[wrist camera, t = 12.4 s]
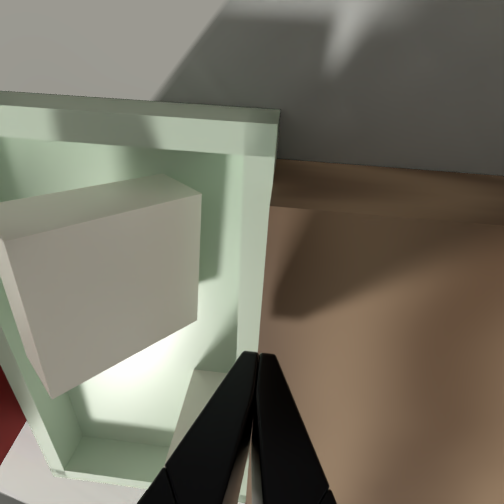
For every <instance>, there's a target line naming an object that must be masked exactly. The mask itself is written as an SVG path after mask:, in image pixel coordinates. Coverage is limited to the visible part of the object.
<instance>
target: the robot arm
mask: <svg viewBox="0 0 504 504" xmlns="http://www.w3.org/2000/svg"><path fill="white" fill-rule="evenodd" d="M252 424H253V425H252ZM251 433H252V438H251ZM250 441H251V483H252V504H337V502H336V500H335V497H334V495H333V492H332V490H330V489H329V487H330V486H329V483H328V481H327V478H326V476H325V473H324V471H323V469H322V466H321V464H320V461H319V459H318V456H317V454H316V451H315V449H314V447H313V444H312V442H311V439H310V437H309V434H308V432H307V430H306V427H305V425H304V422H303V420H302V417H301V415H300V412H299V410H298V408H297V405H296V403H295V400H294V398H293V395H292V393H291V391H290V388H289V386H288V383H287V381H286V378H285V376H284V373H283V371H282V369H281V366H280V364H279V361H278V359H277V357H276V355H275V354H271V353H260V354H258V352H253V351H243V352H242V353H241V354H240V356H239V357H238V359H237V360H236V362H235V363H234V365H233V366H232V368H231V369H230V370H229V372H228V373H227V375H226V376H225V378H224V379H223V381H222V382H221V384H220V385H219V386H218V388H217V389H216V391H215V392H214V394H213V395H212V397H211V398H210V399H209V401H208V402H207V404H206V405H205V407H204V408H203V410H202V411H201V413H200V414H199V415H198V417H197V418H196V420H195V421H194V423H193V424H192V426H191V427H190V429H189V430H188V431H187V433H186V434H185V436H184V437H183V439H182V440H181V442H180V443H179V445H178V446H177V447H176V449H175V450H174V452H173V453H172V455H171V456H170V458H169V459H168V460H167V462H166V463H165V468H164V467H163V468H162V469H161V470H160V472H159V473H158V475H157V476H156V478H155V479H154V481H153V482H152V483H151V485H150V486H149V488H148V489H147V490H146V492H145V493H144V494H143V496H142V497H141V499H140V500H139V501H138V503H137V504H237V503H238V498H239V494H240V489H241V485H242V480H243V475H244V471H245V466H246V461H247V457H248V452H249V447H250Z"/></svg>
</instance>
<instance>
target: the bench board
mask: <svg viewBox="0 0 504 504" xmlns="http://www.w3.org/2000/svg"><path fill="white" fill-rule="evenodd" d="M260 353H271V354H275V355H276V357H277V359H278V361H279V364H280V366H281V369H282V371H283V373H284V376H285V378H286V381H287V383H288V386H289V388H290V391H291V393H292V395H293V398H294V400H295V403H296V405H297V408H298V410H299V412H300V415H301V417H302V420H303V422H304V425H305V427H306V430H307V432H308V434H309V437H310V439H311V442H312V444H313V447H314V449H315V451H316V454H317V456H318V459H319V461H320V464H321V466H322V469H323V471H324V473H325V476H326V478H327V481H328V483H329V486H330V487H329V489H330V490H332V492H333V495H334V497H335V500H336V502H337V504H504V176H496V175H483V174H470V173H457V172H443V171H430V170H417V169H404V168H391V167H378V166H365V165H352V164H338V163H325V162H312V161H299V160H286V159H276V165H275V172H274V179H273V186H272V192H271V199H270V207H269V219H268V231H267V244H266V256H265V268H264V281H263V293H262V305H261V318H260V330H259V342H258V354H260ZM252 425H253V424H252ZM251 438H252V433H251ZM245 504H252V483H251V441H250V454H249V466H248V478H247V491H246V503H245Z"/></svg>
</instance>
